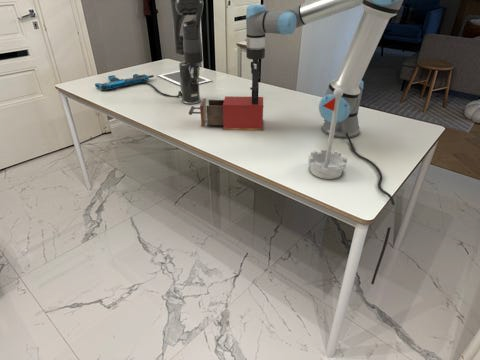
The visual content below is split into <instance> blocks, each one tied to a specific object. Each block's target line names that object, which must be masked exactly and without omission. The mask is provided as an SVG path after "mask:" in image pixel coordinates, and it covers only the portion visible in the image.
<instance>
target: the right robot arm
mask: <svg viewBox="0 0 480 360" xmlns="http://www.w3.org/2000/svg"><path fill="white" fill-rule="evenodd" d="M403 2H404V0H309V1H306V2H304V3H301V4H299V5H296V6H293V7H290V8H288V9H284V10H280V11H270V10H269V11H268V10H267V7H266V5H264V4H249V5H248V6H247V7H246V11H245V13H246V15H245V25H246V27H245V29H246V38H245V39H244V42H246V52H245V53H246V54H245V55H246V58H247V59H248V60H252V61H250V72H251V78H252V79H251V87H250V88H249V90H250V91H251V97H252V105H258V97H259V90H260V89H259V87H260V85H259V83H260V79H261V76H260V71H261V61H259V60H263V59H264V58H265V57H266V48H265V47H266V34H275V35H276V34H277V35H293V33H294V32H295V31H296V29H298V28H300V27H303V26H305V25H308V24H311V23H314V22H317V21H319V20H322V19H325V18H329V17H331V16H332V17H333V16H334V15H337V14H340V13H343V12H347V11H349V10H352V9H355V8H358V7H361V6H362V8H363V12H362V15H361V17H360V19H359V21H358V24H357V27H356V29H355V32H354V34H353V35H352V39H351V41H350V43H349V46H348V49H347V51H346V53H345V56H344V58H343V61H342V63H341V66H340V68H339V71H338V73H337V75H336V78H334V79H332V80H330V82H329V84H328V87H327V89H326V91H325V93H324V95H323V97H322V98H321V99H320V101H319V103H318V111H319V114H320V116H321V117H322V119H323V122H324V123H323V126H322V130H323V132H324V133H325V134H326V135H329V134H330V127H331V121H332V114H333V111H332V110H330V109H328V108H326V107H323V105H325V104H326V103H328V102H329V101H331V100H332V99H334V98H335V96H334V90H335V89H336V88H341V89H342V90H343V95H342V96H341V97H340V101H339V107H338V113H337V120H336V126H335V132H334V137H335V138H339V139H341V138H342V139H347V140H348V143H349V145H350V148H351V151H352V153H353V154H354V155H355V156H357V157H358V158H360V159H362V160H364V161H366V162H367V163H369V164H371V166H373V167H374V168H375V170H376V171H377V173H378V175H379V176H378V177H379V179H378V182H377V187H378V190H379V191H380V192H381V193H382V194H383V195H386V196H387V197H388V198H389V200H390V203H391V205H393V206H395V205H396V204H395V200H394V198H393V196H392V195H391V194H390V193H389V192H387V191H386V190H384V189H383V188H382V181H383V174H382V171H381V170H380V168H379V167H378V165H376V164H375V163H374V162H373V161H372V160H371V159H368V158H367V157H365V156H363V155H361V154H359V153H358V152H357V150H356V149H355V147H354V144H353V143H352V140H351V138H354V137H356V136H357V135H359V132H360V125H359V118H358V117H359V116H358V114H359V111H360V110H359V109H360V105H361V100H362V95H363V90H364V84H365V82H364V80H363V78H364V75H365V73H366V71H367V69H368V67H369V64H370V62H371V60H372V58H373V56H374V53H375V51H376V49H377V47H378V46H379V45H378V44H379V43H380V41H381V39H382V36H383V35H384V32H385V29H386V28H387V25H388V24H389V21H390V20H391V18H393V17H394V16H397V15H398V13H399V11H400V9H401V7H402V5H403ZM390 232H391V226H389V227H387V230H386V234H385V237H384V238H385V239H384V242H383V246H382V248H381V252H380V255H379V258H378V261H377V264H376V266H375V270H374V272H373V276H372V280H371V282H370V284H371V285H375V280H376V278H377V274H378V271H379V268H380V265H381V263H382V259H383V257H384V254H385V252H386V248H387V244H388V242H389V241H388V240H389V238H390V237H389V236H390Z"/></svg>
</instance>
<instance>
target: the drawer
mask: <svg viewBox="0 0 480 360" xmlns="http://www.w3.org/2000/svg"><path fill="white" fill-rule="evenodd" d="M223 103H224V99H208V105H207V98H202V100H201V102H200V105H199V107H197V106H194V105H191V107H190V108H189V110H188V115H189V116H192V115H193V114H194V115H199V114H200V123H201V125H200V126H201V127H205V125H207V126H224V124H223ZM195 110H199V111H195ZM206 122H207V124H206Z"/></svg>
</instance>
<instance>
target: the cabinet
mask: <svg viewBox="0 0 480 360" xmlns="http://www.w3.org/2000/svg"><path fill="white" fill-rule="evenodd" d="M223 100H224V103H223V124H224V125H223V130H235V131H236V130H237V131H263V127H264V126H263V125H264V96H258V105H252V96H226V95H225V96H224V99H223Z"/></svg>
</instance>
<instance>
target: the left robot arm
mask: <svg viewBox="0 0 480 360" xmlns="http://www.w3.org/2000/svg"><path fill="white" fill-rule="evenodd" d="M169 5H170V13H171V20H172V29H173V30H172V32H173V47H174V48H173V49H174V52H175V54H176V55H177V56H183V57H184V58H183V59H184V60H183V61H180V62H179V64H178V68H179V71H180V78H181V83H180V86H179V87H180V90H179V91H178V94H177V95H170V94H167V93H164V92H161V91H160V90H158V89H157V87H155V86H154V85H153V84H151V83H150V82H147V81H146V82H139V84H145V85H148V86H150V87H151V88H153V89H154V90H155V92H157V93H158V94H160V95H162V96H166V97H169V98H179V97H181V102H182V103H183V104H186V105H195V104H199V103H201V95H200V94H201V93H200V84H199V76H200V70H201V69H200V68H201V67H200V65H199V64H201V63H203V61H204V58H203V57H204V56H203V45H202V37H201V36H202V35H201V22H202V17H203V12H204V11H203V10H204V0H169ZM187 16H193V18H192V19H191V20H189V21H185V19H186V17H187ZM181 30H182V34H181Z"/></svg>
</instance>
